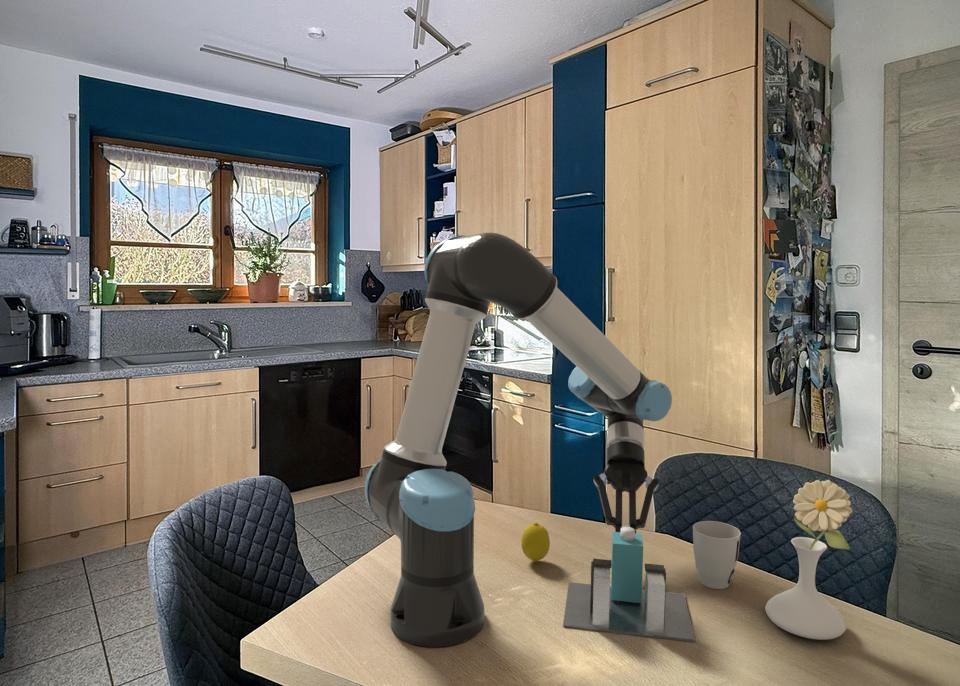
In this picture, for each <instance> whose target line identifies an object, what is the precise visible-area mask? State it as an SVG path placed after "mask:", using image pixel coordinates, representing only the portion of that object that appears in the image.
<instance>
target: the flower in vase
mask: <svg viewBox="0 0 960 686" xmlns="http://www.w3.org/2000/svg"><path fill="white" fill-rule="evenodd" d="M850 497H851V495H850V494H849V493H847V491H846V490H845V489H843V487H841V486H839V485H838V484H836V483H835V482H831V480H830V479H826V480H821V481H820V480H819V479H816V480H815V481H813V482H808V481H807V482H805V483H804V486H803V487H800V488H798V492H797V494H794V496H793V500H792V503H793V504H794V506H793V509H794V511H796V512H795V513H794V516H793V519H794V522H795V523H796V525H797V526H798V527H799V528H800V529H801V530H803V531H804V532H806V533H807V534H809V535H810V536H812V537H813V538H812V537H806V536H805V537H804V536H798V537H797V536H796V537H793V538H791V540H790V542H791V544H792V545H793V547H794V549H795V551H796V553H797V558H798V559H797V560H798V567H799V570H798V571H799V573H798V581H797V583H796V585H795V586H794V587H793V588H790V589H788V590H784V591H782V592H779V593H777V594H775V595H774V596H772V597H771V598H770V599H769V600H768V601H767V603H766V604H765V607H764V610H765V612H766V615H767V616H768V618H769V619H770V621H771V622H772V623H774V624H775V626H777V627H779V628H781V629H782V630H784V631H786V632H788V633H790V634H792V635H795V636H799V637H803V638H806V639H810V640H821V641H822V640H825V641H826V640H827V641H828V640H833V639H836V638H839V637H840V636H841V635H843V634H844V633H845V632H846V630H847V624H846V621H845V618H844V616H843V615H842V614H841V613H840V611H839V610H838V609H837V608H836V607H835V606H834V605H833V604H832V603H831V602H829V600H827V599H826V598H824V596H823V595H821V594H820V592H818V590H817V587H816V571H817V565H818V562H819V559H820V557H821V555H823V553H824V552H825V551H826V550H827V549H828V546H829V547H830V548H834V549H840V550H851V547H850V546H849V543H848V541H847V540H846V538H845V537H844V535H843V534H842V533H841V532H840V531H839V530H838V529H839V528H841V527H842V524H843V523H845V522H846V521H847V520H848V518H849V517H850V514H851V515H852V513H853V508H851V507H850V506H851V505H852V502H851V500H850ZM847 522H848V521H847ZM816 531H818V532H821V533H820V534H819V535H818V536H817V537H816V535H815V534H814V533H813V532H816ZM823 536H824V538H825V540H826V542H827V544H826V543H825V542H822V541H820V539H821V538H822V537H823ZM827 545H828V546H827Z"/></svg>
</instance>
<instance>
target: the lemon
mask: <svg viewBox="0 0 960 686" xmlns="http://www.w3.org/2000/svg"><path fill="white" fill-rule="evenodd" d="M550 541H551V540H550V534H549V532H548V530H547V528H546V527H545V526H544V525H542V524H540V523H538V522H533V523H531V524H529V525H527V526H525V528H524V530H523V533H522V536H521V544H520V545H521V549H522V550H521V551H522V552H523V554H524V555H525V557H526V558H528V559H529V560H531V561H533V563H538V562H539V561H540V560H543V559H544V558H546V556H547V555H548V553H549V550H550V546H551V545H550V543H551V542H550Z"/></svg>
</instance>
